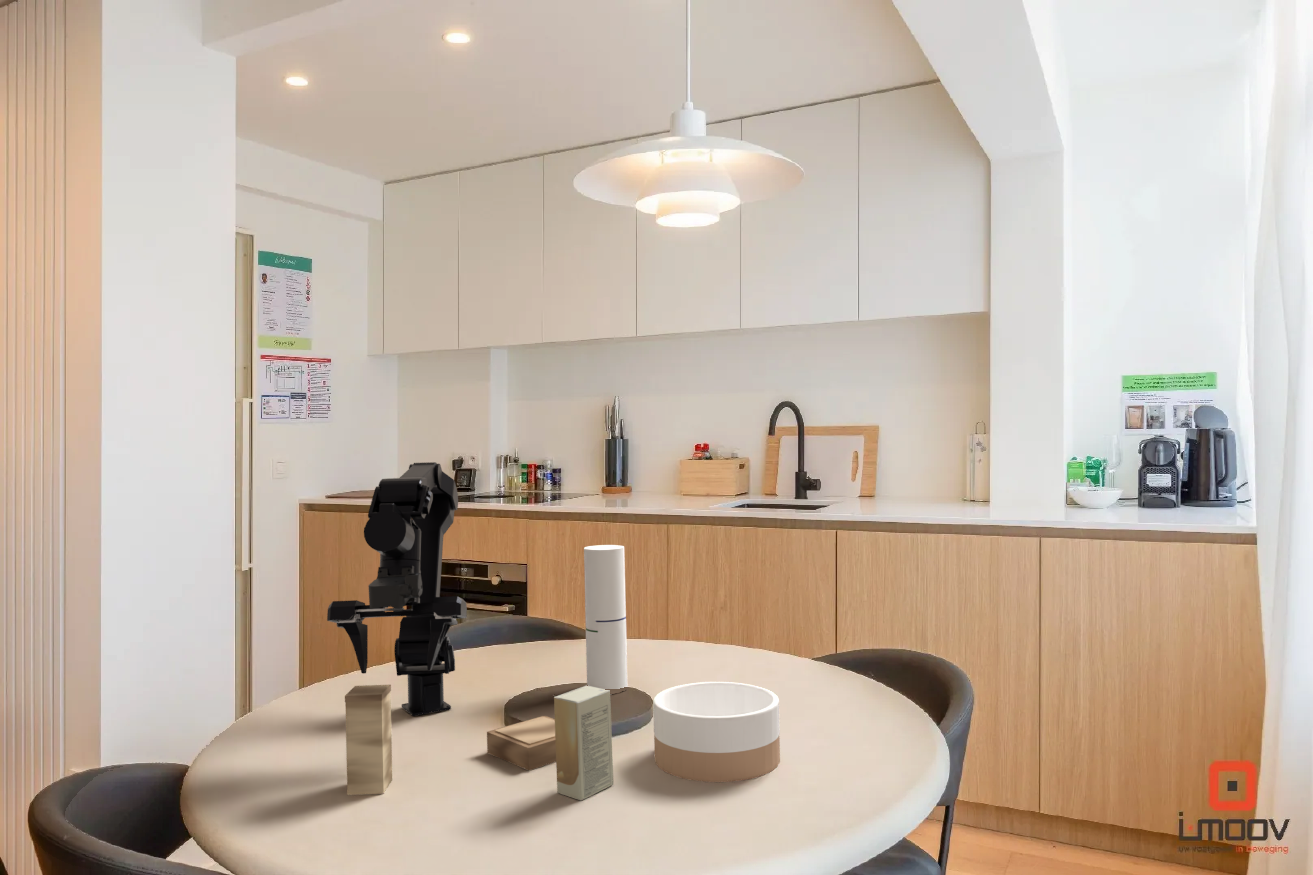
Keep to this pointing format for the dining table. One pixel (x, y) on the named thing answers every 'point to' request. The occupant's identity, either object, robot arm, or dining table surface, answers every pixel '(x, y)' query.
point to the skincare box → (583, 742)
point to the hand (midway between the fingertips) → (396, 671)
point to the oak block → (368, 739)
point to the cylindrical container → (605, 616)
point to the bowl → (716, 731)
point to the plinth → (525, 743)
